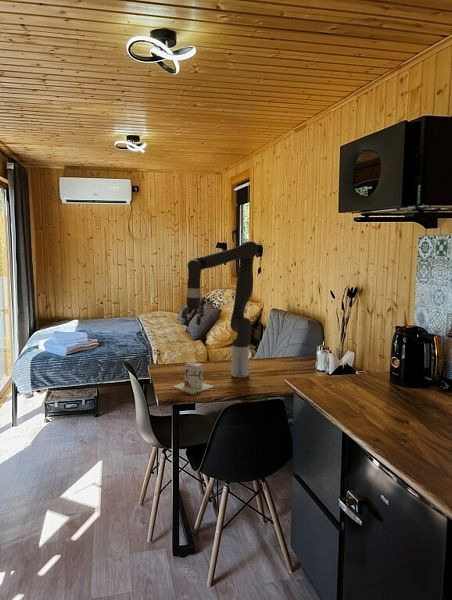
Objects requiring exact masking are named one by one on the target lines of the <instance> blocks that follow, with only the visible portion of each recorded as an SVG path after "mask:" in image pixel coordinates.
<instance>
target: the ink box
mask: <svg viewBox="0 0 452 600" xmlns="http://www.w3.org/2000/svg"><path fill="white" fill-rule="evenodd" d="M203 380H204V364H203V363H198V362H194V361H189V362H186V363H184V380H183V381H184V382H183V383H184V385H185V386H188V387H192V388H196V389H198V388H200V387H202V384H203V383H204V381H203Z"/></svg>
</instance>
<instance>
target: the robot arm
mask: <svg viewBox="0 0 452 600" xmlns="http://www.w3.org/2000/svg"><path fill="white" fill-rule="evenodd" d="M258 253H259V246H258V244H257V243H256V242H255V241H253V240H247V241H244V242H242V243H241V244H240V245H239V246H236V247H233V248H230V249H226V250H222V251H218V252H217V251H216V252H214V253H211V254H208V255H204V256H202V257H197V258H193V259H190V260H189V261H188V262H187V275H188V276H187V277H188V278H187V282H186V283H187V284H186V285H187V286H186V287H187V288H186V300H185V301H186V303H185V304H186V305H187V306H186V307H182V310H181V319H184V326H185V327H189V326H190V318H191V317H192V316H196V325H197V326H200V325H201V321H202V318H203V317H204V314H205V309H204V308H205V307H204V305H201V275H202V270H205V269H211V268H214V267H217V266H218V267H219V266H220V265H224V264H226V263H229V262H232V261H236V260H239V266H238V273H237V278H236V283H235V294H234V295H235V296H234V302H233V310H232V315H231V319H230V328H231V331H232V332H234V333H236V338H234V339H233V340H232V343H231V345H232V348H231V350H232V351H231V372H230V373H231V377H234V378H241V379H242V378H247V377H248V376H249V375H250V358H249V355H250V353H249V352H250V350H249V349H250V342H251V339H252V329H253V328H252V326H253V325H252V321H251V320H250V319H249V318H247V317H245V309H246V307H247V304H248V303H249V301H250V299H251V297H252V295H253V289H254V288H253V287H254V274H253V273H254V272H253V265H254V258H255V256H256V255H258Z"/></svg>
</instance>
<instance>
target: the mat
mask: <svg viewBox="0 0 452 600" xmlns="http://www.w3.org/2000/svg"><path fill="white" fill-rule="evenodd" d="M214 387H215V386H214V385H212V384H208V383H205V382H203V384H202V387H200V388H198V389H196V388H192V387H188V386H185V385H184V382H181V383H178V384H175V385H171V388H174V389H175V390H178V389H179V391H181V390H182V392H184V391H185V392H184V393H187V392H188V393H187V394H190V395H195V394H198V393H201V392H204V390H205V391H207V389H208V390H210V389H214ZM197 392H198V393H197ZM194 393H195V394H194Z"/></svg>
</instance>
